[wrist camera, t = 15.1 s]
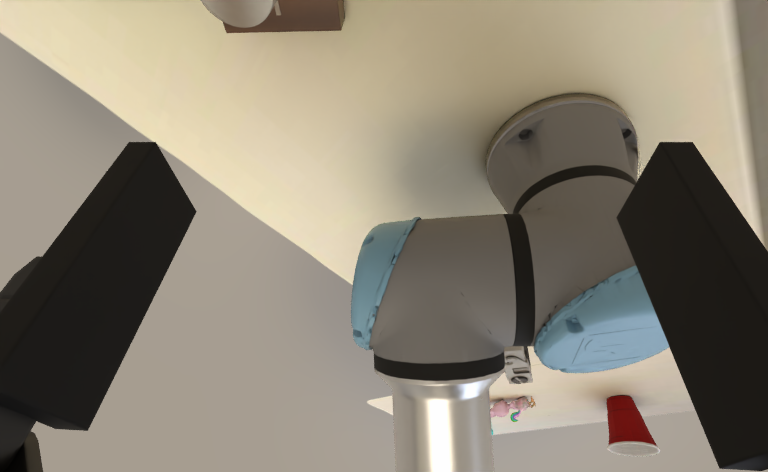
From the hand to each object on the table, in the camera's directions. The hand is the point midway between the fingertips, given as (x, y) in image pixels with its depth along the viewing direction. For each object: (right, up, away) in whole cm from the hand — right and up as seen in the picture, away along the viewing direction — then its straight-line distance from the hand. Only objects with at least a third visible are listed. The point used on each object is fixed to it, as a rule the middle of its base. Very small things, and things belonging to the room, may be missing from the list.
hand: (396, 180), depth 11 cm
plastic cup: (+58, -42, +90) cm, 115 cm away
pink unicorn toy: (+32, -45, +96) cm, 111 cm away
